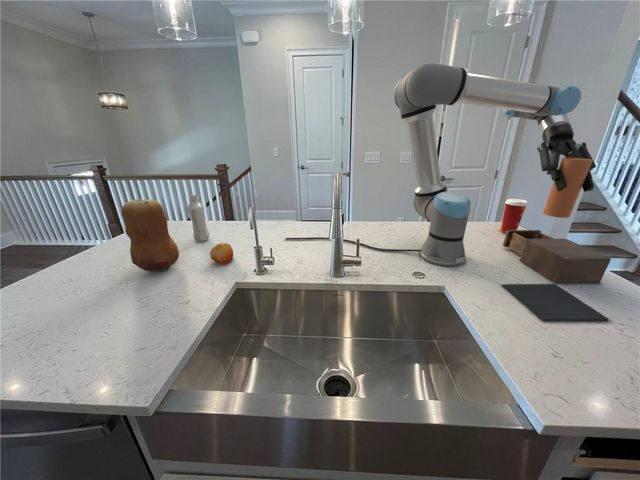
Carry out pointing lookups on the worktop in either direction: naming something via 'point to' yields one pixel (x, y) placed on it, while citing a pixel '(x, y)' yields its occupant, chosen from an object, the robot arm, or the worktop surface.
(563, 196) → the orange tall cylinder
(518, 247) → the drawer
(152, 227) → the butternut squash
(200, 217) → the plastic bottle
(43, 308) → the worktop surface
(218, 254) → the fruit
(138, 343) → the worktop surface
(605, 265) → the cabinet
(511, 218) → the coffee cup
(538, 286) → the mat
